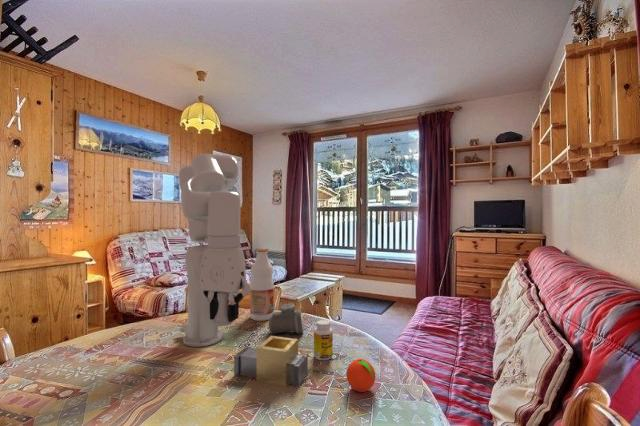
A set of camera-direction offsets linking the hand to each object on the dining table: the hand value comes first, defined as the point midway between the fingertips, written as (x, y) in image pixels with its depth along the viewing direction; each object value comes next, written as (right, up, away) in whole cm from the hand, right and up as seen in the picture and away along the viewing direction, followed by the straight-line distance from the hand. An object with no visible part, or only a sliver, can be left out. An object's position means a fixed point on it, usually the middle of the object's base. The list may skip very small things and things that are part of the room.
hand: (224, 318), depth 75 cm
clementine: (+33, -17, -1) cm, 37 cm away
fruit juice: (0, -17, +52) cm, 55 cm away
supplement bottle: (+24, -17, +17) cm, 34 cm away
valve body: (+10, -17, +7) cm, 21 cm away
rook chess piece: (0, -1, 0) cm, 1 cm away
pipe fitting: (+11, -18, +36) cm, 41 cm away
